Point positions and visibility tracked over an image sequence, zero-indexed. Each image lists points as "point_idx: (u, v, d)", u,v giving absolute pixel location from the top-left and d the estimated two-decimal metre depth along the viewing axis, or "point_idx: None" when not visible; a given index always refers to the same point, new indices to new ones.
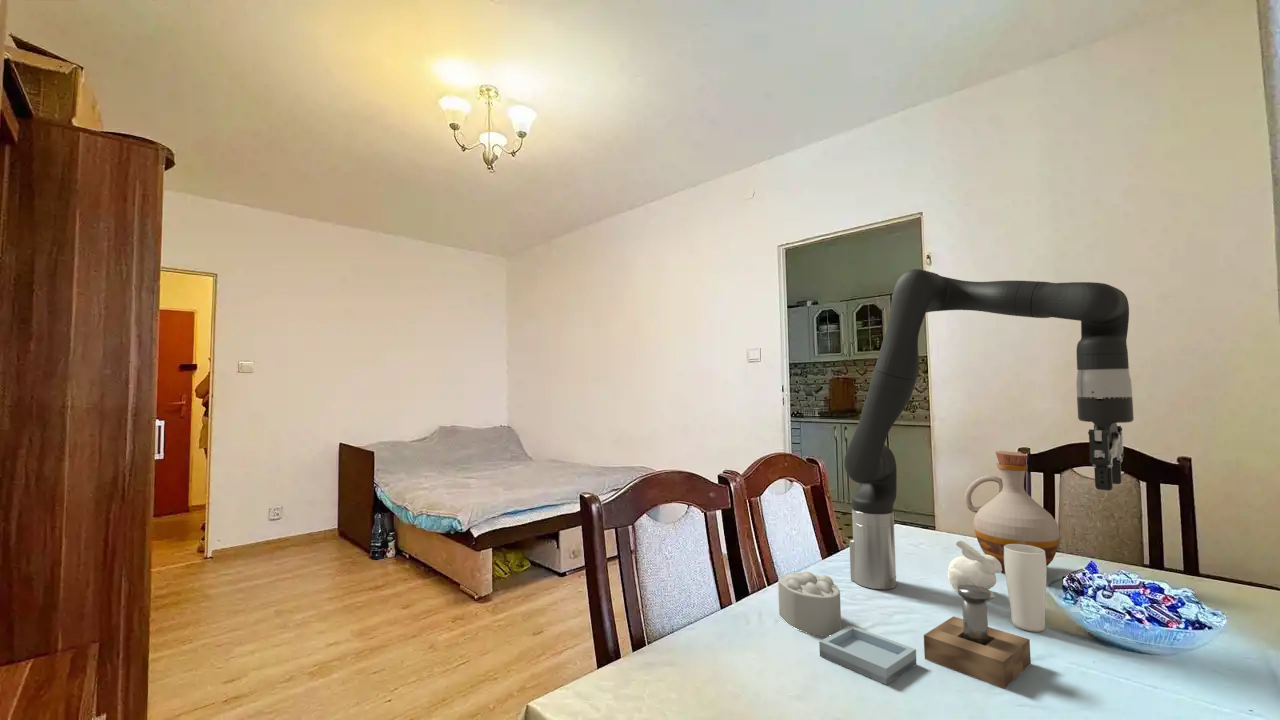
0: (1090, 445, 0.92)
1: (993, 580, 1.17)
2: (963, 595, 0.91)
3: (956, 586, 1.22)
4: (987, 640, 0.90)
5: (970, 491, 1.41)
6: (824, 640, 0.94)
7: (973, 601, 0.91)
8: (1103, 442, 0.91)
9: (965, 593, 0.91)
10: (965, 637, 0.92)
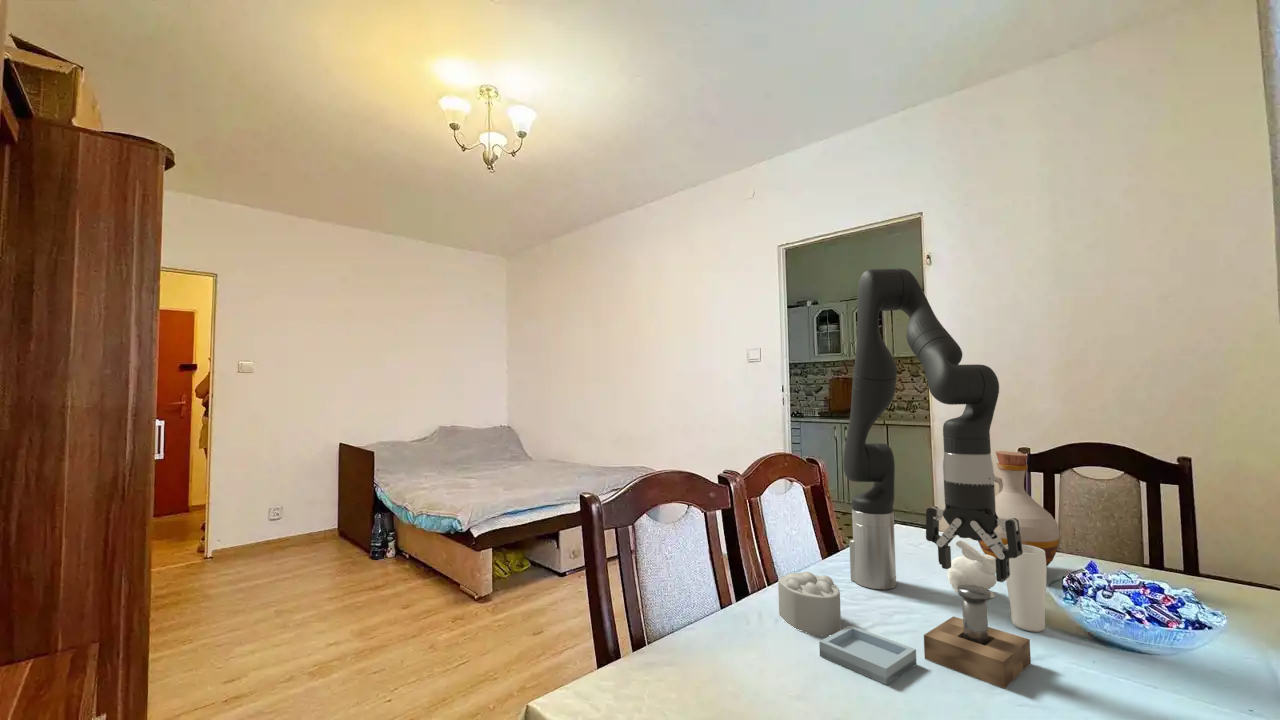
0: (1015, 537, 0.87)
1: (993, 580, 1.17)
2: (963, 595, 0.91)
3: (956, 586, 1.22)
4: (987, 640, 0.90)
5: None
6: (824, 640, 0.94)
7: (973, 601, 0.91)
8: (1018, 532, 0.88)
9: (965, 593, 0.91)
10: (965, 637, 0.92)
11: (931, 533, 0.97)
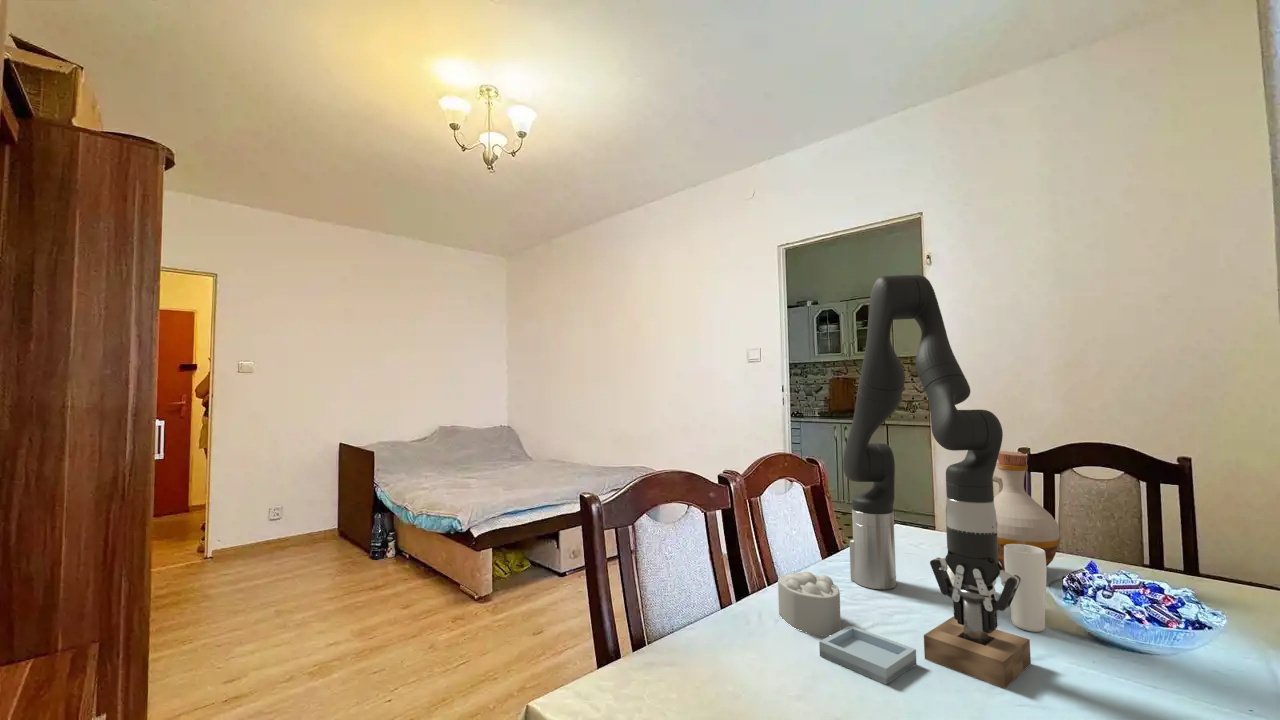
0: (1010, 595, 0.87)
1: None
2: (963, 595, 0.91)
3: None
4: (987, 640, 0.90)
5: None
6: (824, 640, 0.94)
7: (973, 601, 0.91)
8: (1016, 589, 0.88)
9: (965, 593, 0.91)
10: (965, 637, 0.92)
11: (944, 586, 0.95)
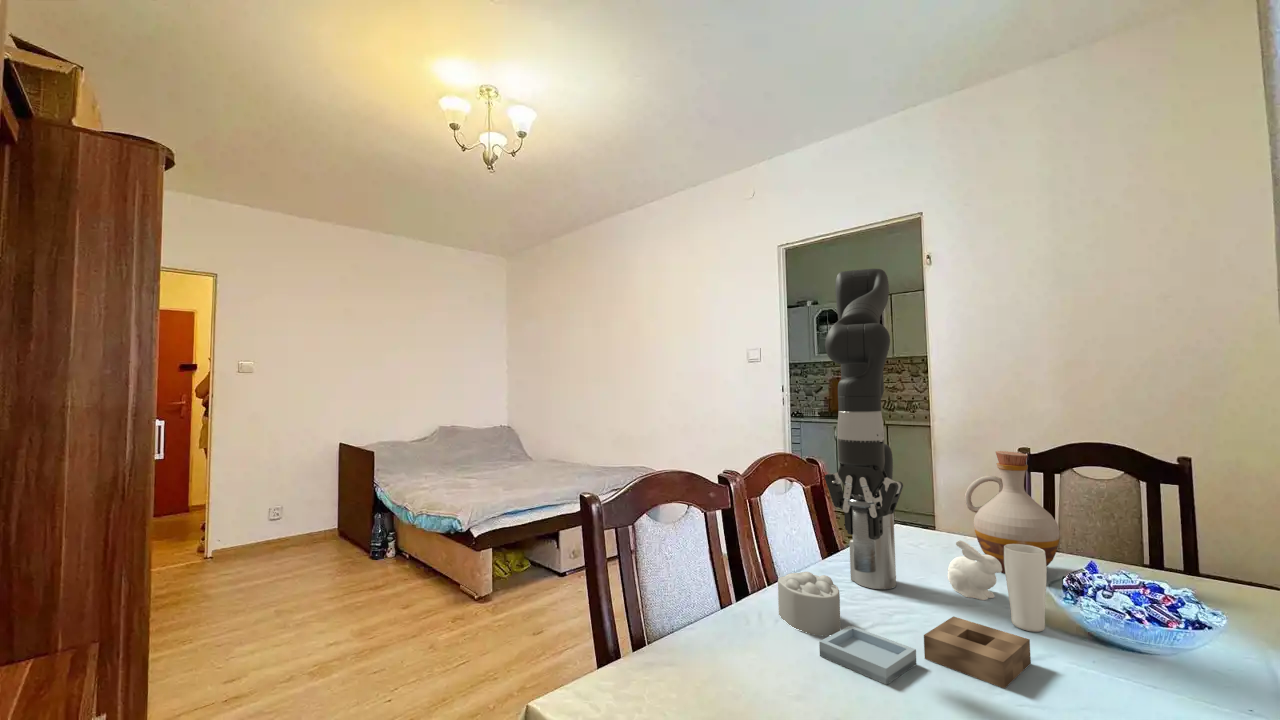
0: (892, 499, 0.89)
1: (993, 580, 1.17)
2: (851, 504, 0.93)
3: (956, 586, 1.22)
4: (873, 547, 0.92)
5: (970, 491, 1.41)
6: (824, 640, 0.94)
7: (860, 509, 0.92)
8: (898, 495, 0.90)
9: (852, 502, 0.93)
10: (853, 546, 0.93)
11: (836, 498, 0.97)
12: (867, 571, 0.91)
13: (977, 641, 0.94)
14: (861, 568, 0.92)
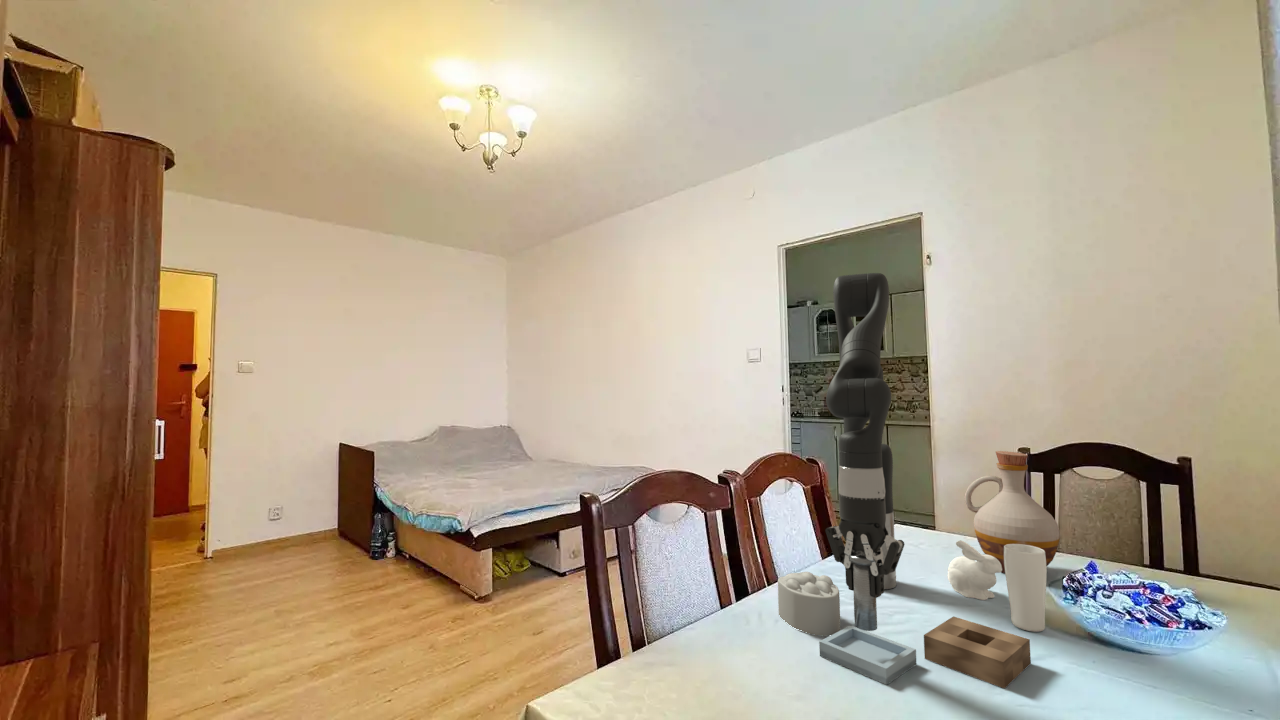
0: (893, 559, 0.88)
1: (993, 580, 1.17)
2: (852, 561, 0.93)
3: (956, 586, 1.22)
4: (874, 605, 0.91)
5: (970, 491, 1.41)
6: (824, 640, 0.94)
7: (861, 566, 0.92)
8: (899, 554, 0.89)
9: (853, 558, 0.92)
10: (854, 602, 0.93)
11: (837, 553, 0.96)
12: (868, 629, 0.91)
13: (977, 641, 0.94)
14: (862, 626, 0.91)
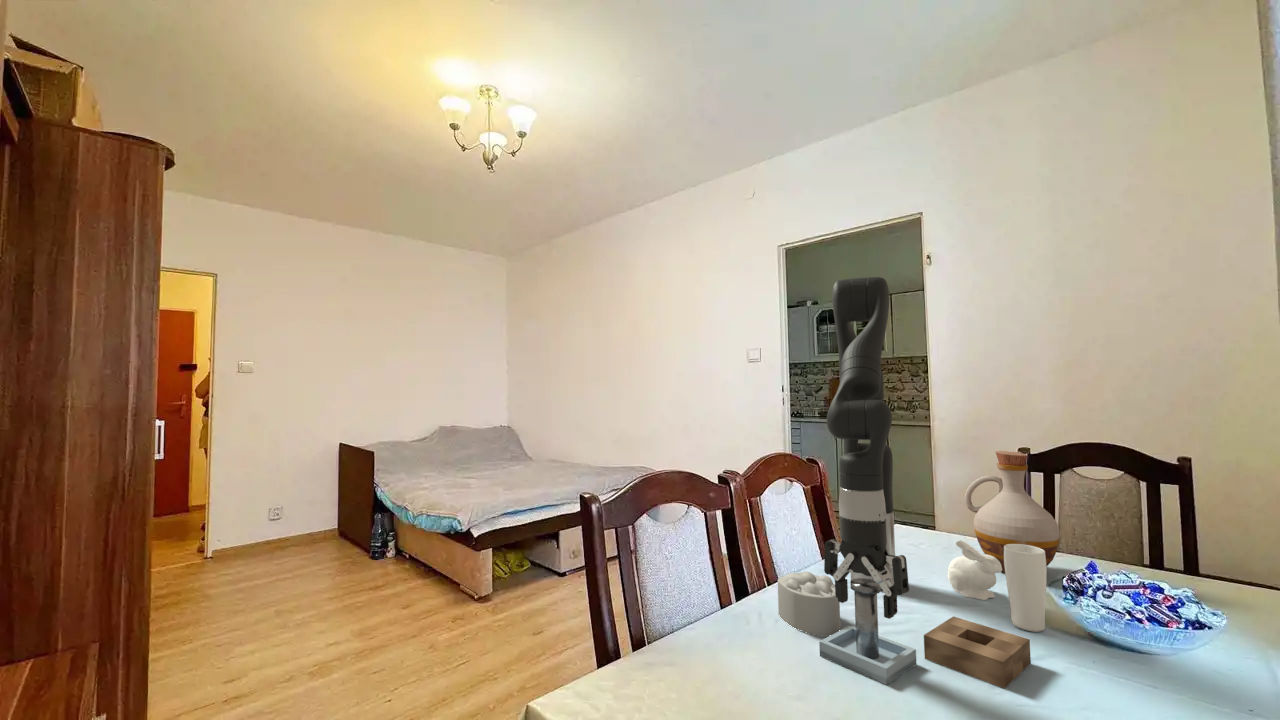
0: (900, 575, 0.87)
1: (993, 580, 1.17)
2: (854, 589, 0.92)
3: (956, 586, 1.22)
4: (876, 633, 0.91)
5: (970, 491, 1.41)
6: (824, 640, 0.94)
7: (863, 595, 0.91)
8: (905, 569, 0.88)
9: (855, 587, 0.92)
10: (856, 630, 0.93)
11: (829, 566, 0.97)
12: (870, 658, 0.91)
13: (977, 641, 0.94)
14: (864, 654, 0.91)
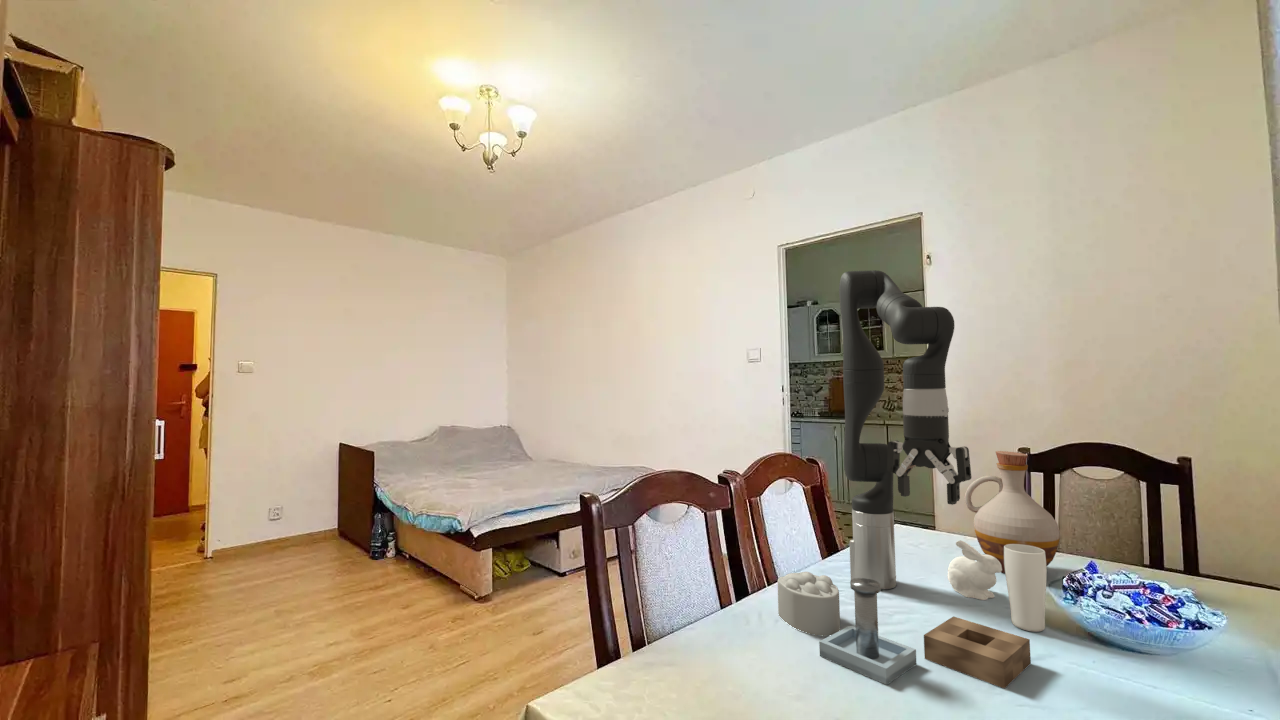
0: (964, 463, 0.94)
1: (993, 580, 1.17)
2: (853, 588, 0.92)
3: (956, 586, 1.22)
4: (876, 633, 0.91)
5: (970, 491, 1.41)
6: (824, 640, 0.94)
7: (863, 594, 0.92)
8: (968, 458, 0.95)
9: (855, 586, 0.92)
10: (856, 630, 0.93)
11: (892, 464, 1.05)
12: (870, 658, 0.91)
13: (977, 641, 0.94)
14: (864, 654, 0.91)
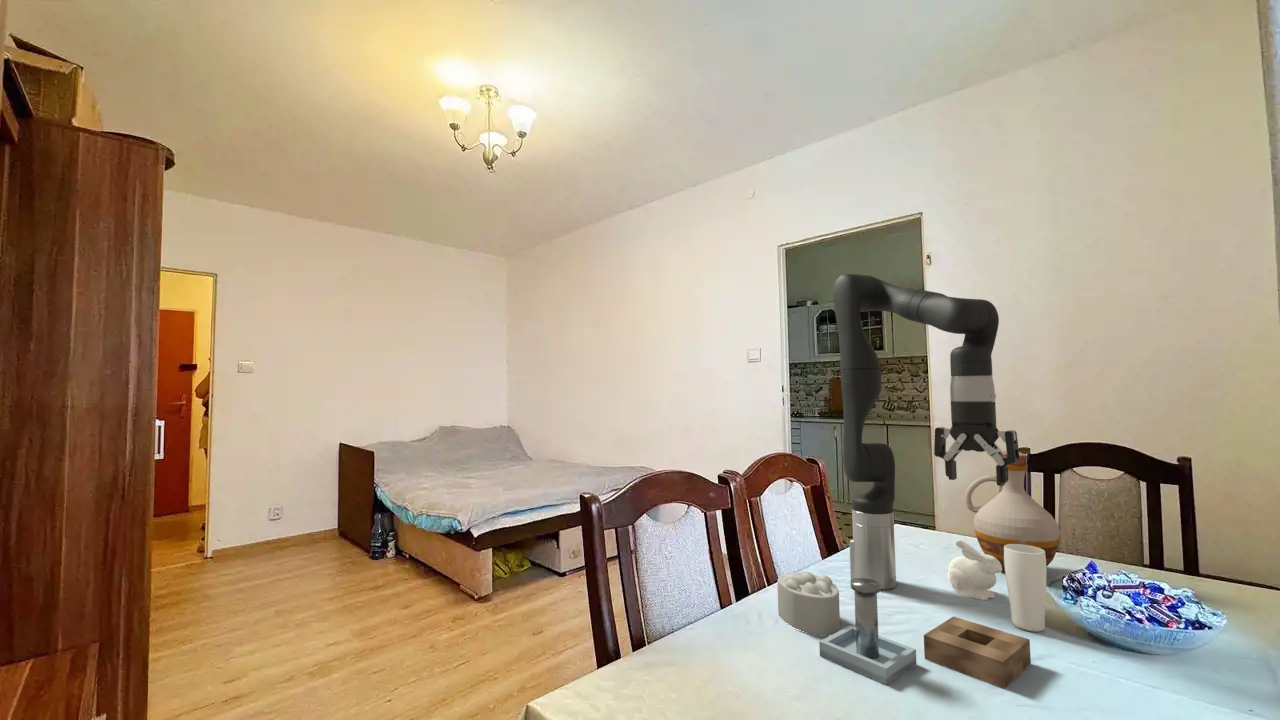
0: (1013, 445, 0.99)
1: (993, 580, 1.17)
2: (853, 588, 0.92)
3: (956, 586, 1.22)
4: (876, 633, 0.91)
5: (970, 491, 1.41)
6: (824, 640, 0.94)
7: (863, 594, 0.92)
8: (1016, 441, 1.00)
9: (855, 586, 0.92)
10: (856, 630, 0.93)
11: (939, 449, 1.09)
12: (870, 657, 0.91)
13: (977, 641, 0.94)
14: (864, 654, 0.91)
